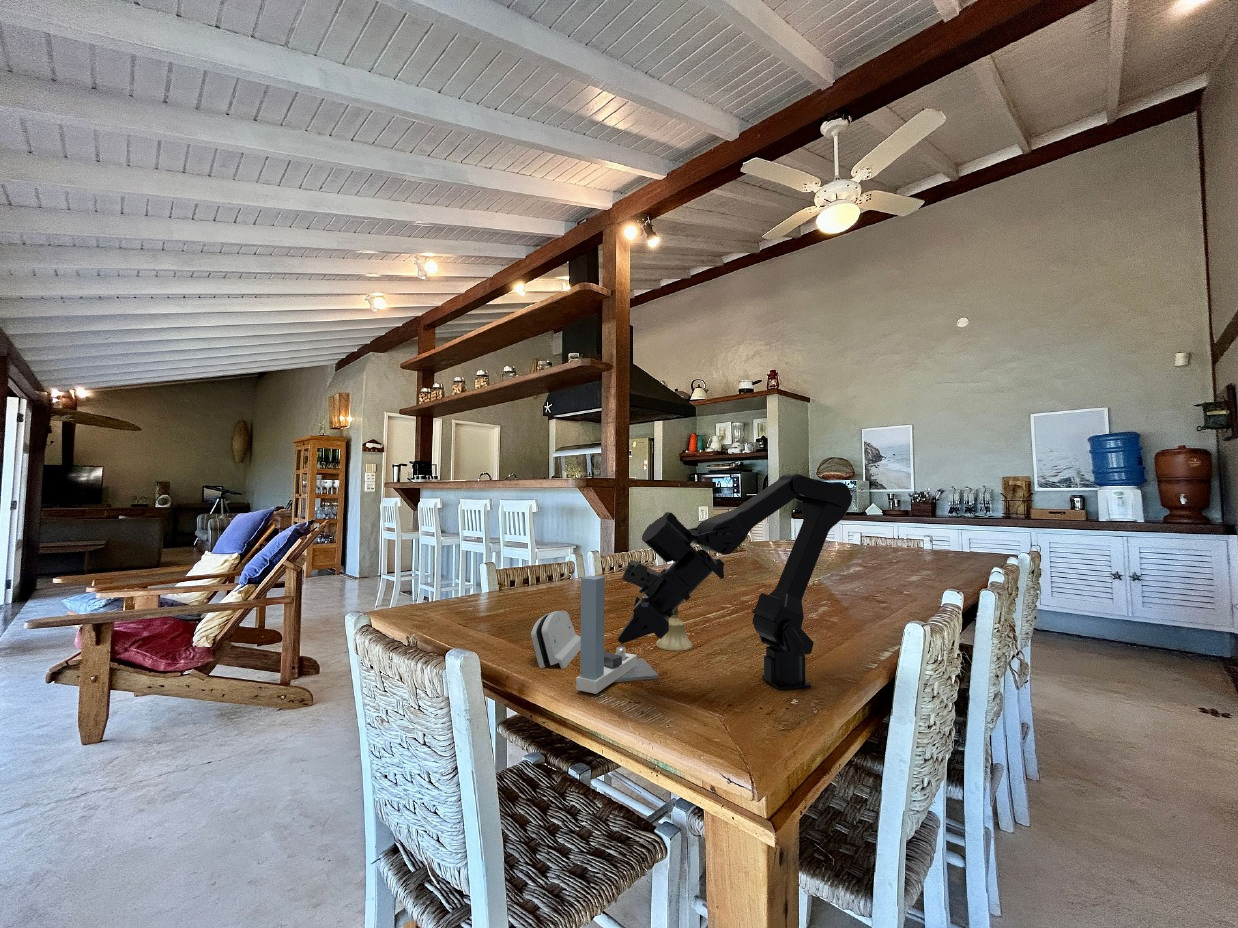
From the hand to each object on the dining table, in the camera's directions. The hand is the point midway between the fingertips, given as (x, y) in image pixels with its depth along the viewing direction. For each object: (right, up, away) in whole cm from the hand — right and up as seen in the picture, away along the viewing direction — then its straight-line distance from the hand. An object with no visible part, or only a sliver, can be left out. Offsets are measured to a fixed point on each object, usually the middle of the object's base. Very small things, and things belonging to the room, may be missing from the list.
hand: (619, 640), depth 90 cm
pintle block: (0, -9, +9) cm, 13 cm away
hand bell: (+12, -10, +26) cm, 31 cm away
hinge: (-13, -10, +19) cm, 25 cm away
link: (-2, -8, +5) cm, 10 cm away
